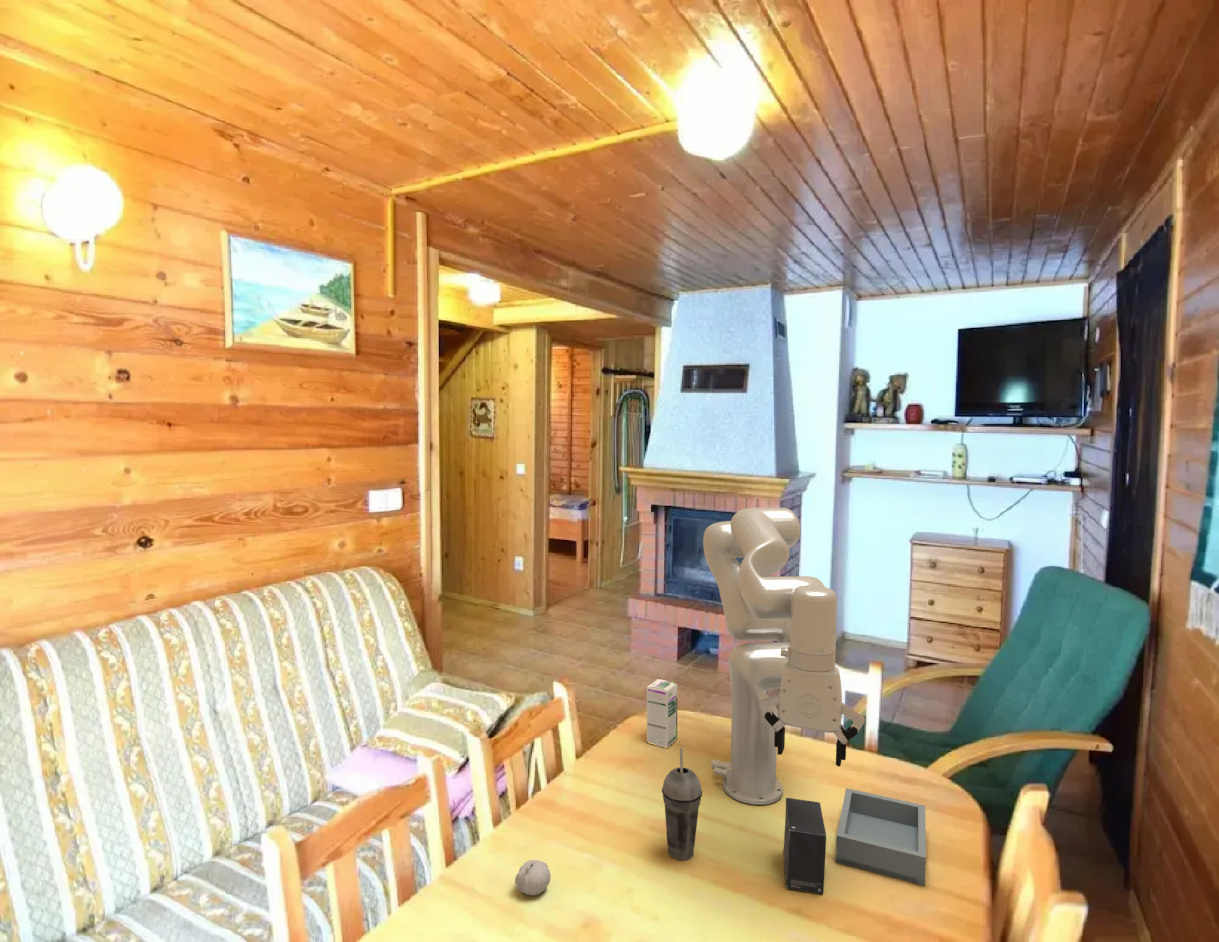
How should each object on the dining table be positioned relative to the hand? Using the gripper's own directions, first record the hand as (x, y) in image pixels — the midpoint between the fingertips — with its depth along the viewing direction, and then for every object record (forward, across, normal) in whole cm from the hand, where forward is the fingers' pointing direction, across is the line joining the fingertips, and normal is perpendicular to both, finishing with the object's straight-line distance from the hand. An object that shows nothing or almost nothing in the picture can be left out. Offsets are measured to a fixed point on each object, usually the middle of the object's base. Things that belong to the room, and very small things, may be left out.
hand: (809, 756), depth 116 cm
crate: (+21, +12, +14) cm, 28 cm away
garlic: (+21, -41, -24) cm, 52 cm away
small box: (+21, 0, 0) cm, 21 cm away
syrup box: (+20, -39, +36) cm, 57 cm away
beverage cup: (+21, -22, -4) cm, 30 cm away
